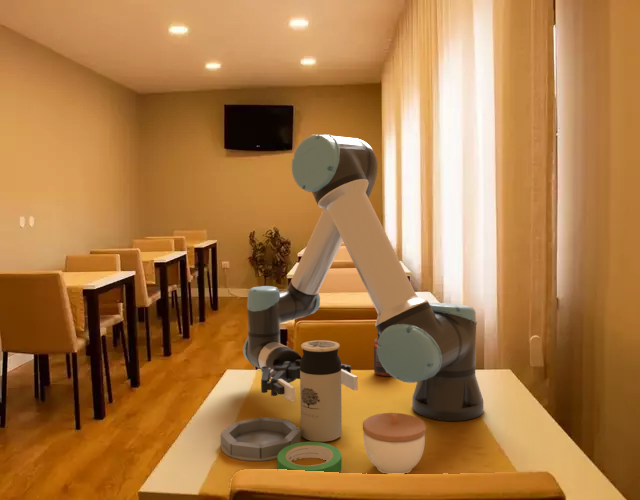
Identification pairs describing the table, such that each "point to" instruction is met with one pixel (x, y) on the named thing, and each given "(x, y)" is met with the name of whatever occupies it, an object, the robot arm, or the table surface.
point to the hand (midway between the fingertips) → (325, 389)
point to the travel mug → (320, 391)
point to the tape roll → (310, 451)
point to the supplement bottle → (377, 365)
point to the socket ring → (258, 438)
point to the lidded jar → (394, 441)
